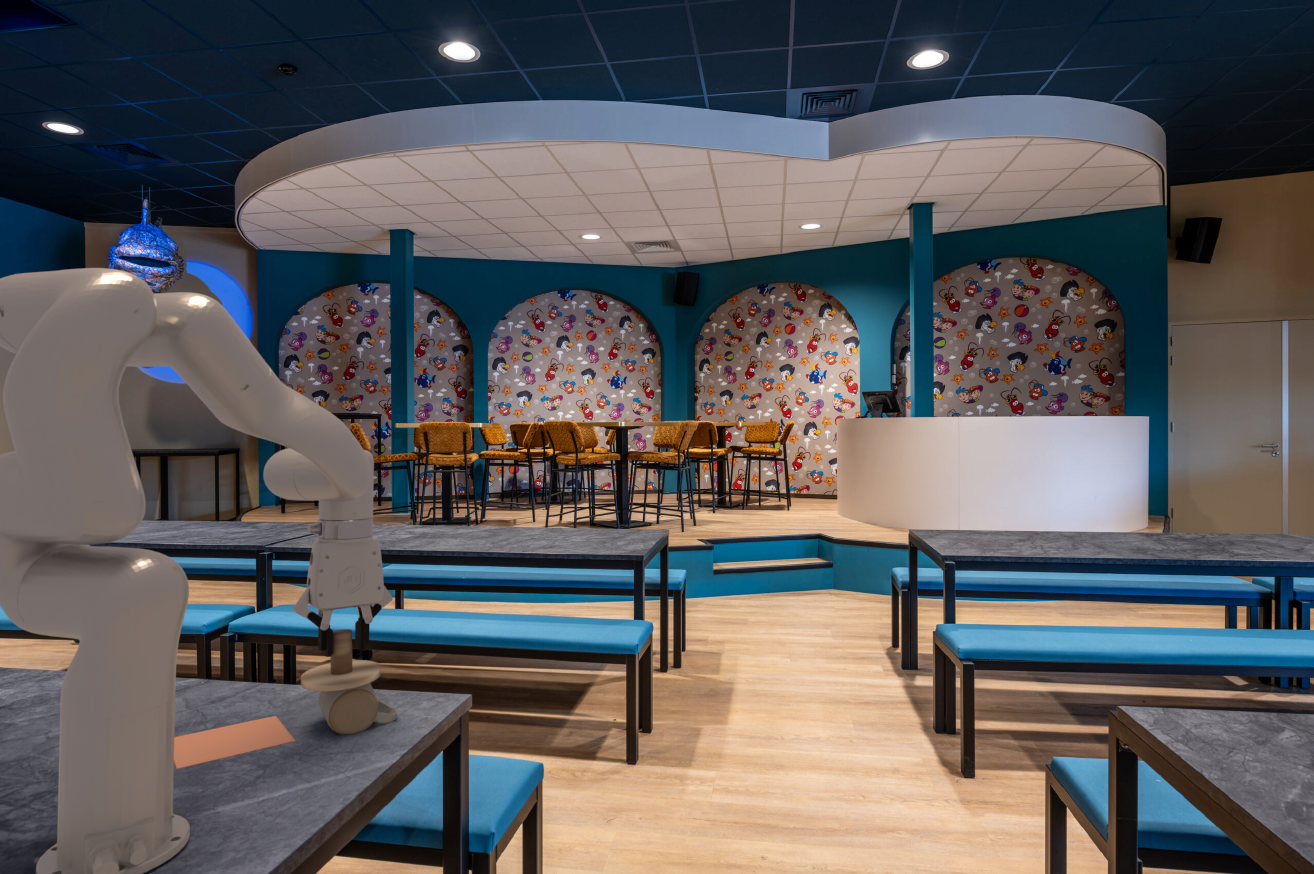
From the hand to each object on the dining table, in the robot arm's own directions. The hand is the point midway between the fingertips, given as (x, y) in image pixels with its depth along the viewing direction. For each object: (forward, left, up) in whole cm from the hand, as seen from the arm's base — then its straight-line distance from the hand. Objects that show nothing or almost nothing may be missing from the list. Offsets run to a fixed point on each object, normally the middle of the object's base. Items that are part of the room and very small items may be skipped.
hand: (343, 650), depth 106 cm
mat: (+4, +14, -12) cm, 19 cm away
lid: (0, 0, -4) cm, 4 cm away
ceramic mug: (0, -2, -12) cm, 12 cm away
